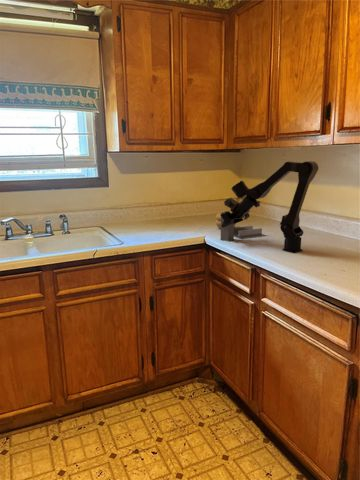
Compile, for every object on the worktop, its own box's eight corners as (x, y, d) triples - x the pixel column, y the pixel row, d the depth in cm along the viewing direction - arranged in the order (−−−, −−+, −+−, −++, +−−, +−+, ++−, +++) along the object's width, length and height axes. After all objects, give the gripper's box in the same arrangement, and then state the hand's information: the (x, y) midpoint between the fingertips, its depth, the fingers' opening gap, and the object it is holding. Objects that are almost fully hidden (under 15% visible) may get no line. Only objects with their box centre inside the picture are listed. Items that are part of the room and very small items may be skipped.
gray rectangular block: (233, 239, 189) (234, 213, 186) (228, 241, 185) (228, 215, 182) (225, 238, 192) (225, 212, 189) (219, 239, 188) (220, 214, 185)
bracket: (264, 235, 196) (265, 229, 195) (240, 238, 189) (241, 232, 189) (250, 231, 207) (250, 224, 206) (226, 233, 201) (227, 227, 200)
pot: (219, 225, 223) (219, 209, 220) (238, 227, 218) (239, 210, 215) (212, 229, 212) (212, 212, 210) (232, 231, 207) (232, 213, 205)
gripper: (244, 191, 187) (225, 211, 197) (224, 195, 173) (204, 216, 183) (258, 208, 184) (238, 227, 194) (238, 213, 170) (218, 234, 180)
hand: (225, 226), depth 187 cm, fingers closed on gray rectangular block, 5 cm apart
